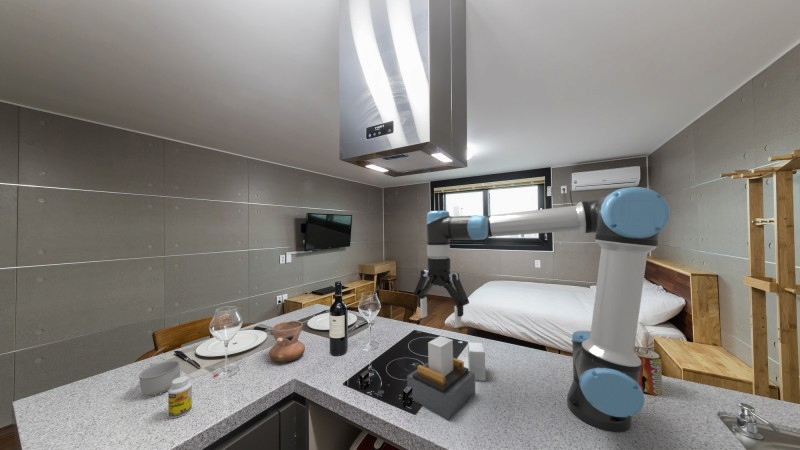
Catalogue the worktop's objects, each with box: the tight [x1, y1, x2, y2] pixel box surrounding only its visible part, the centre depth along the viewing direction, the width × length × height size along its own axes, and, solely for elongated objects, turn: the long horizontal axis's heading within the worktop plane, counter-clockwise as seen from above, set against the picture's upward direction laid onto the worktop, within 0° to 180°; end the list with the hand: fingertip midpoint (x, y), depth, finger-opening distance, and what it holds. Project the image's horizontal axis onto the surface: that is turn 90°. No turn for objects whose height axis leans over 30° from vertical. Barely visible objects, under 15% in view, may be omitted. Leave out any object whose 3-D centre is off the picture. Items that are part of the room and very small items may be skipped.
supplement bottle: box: [167, 375, 193, 419], centre depth 81 cm, size 6×6×10 cm
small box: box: [467, 341, 487, 382], centre depth 98 cm, size 8×6×10 cm
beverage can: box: [634, 345, 663, 397], centre depth 89 cm, size 9×9×12 cm
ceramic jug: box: [268, 320, 306, 363], centre depth 115 cm, size 18×14×14 cm
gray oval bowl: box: [138, 359, 181, 396], centre depth 94 cm, size 14×11×8 cm
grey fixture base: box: [406, 357, 476, 422], centre depth 87 cm, size 16×16×10 cm
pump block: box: [427, 335, 454, 376], centre depth 87 cm, size 5×7×10 cm
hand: (440, 321), depth 87 cm, fingers open, 13 cm apart
